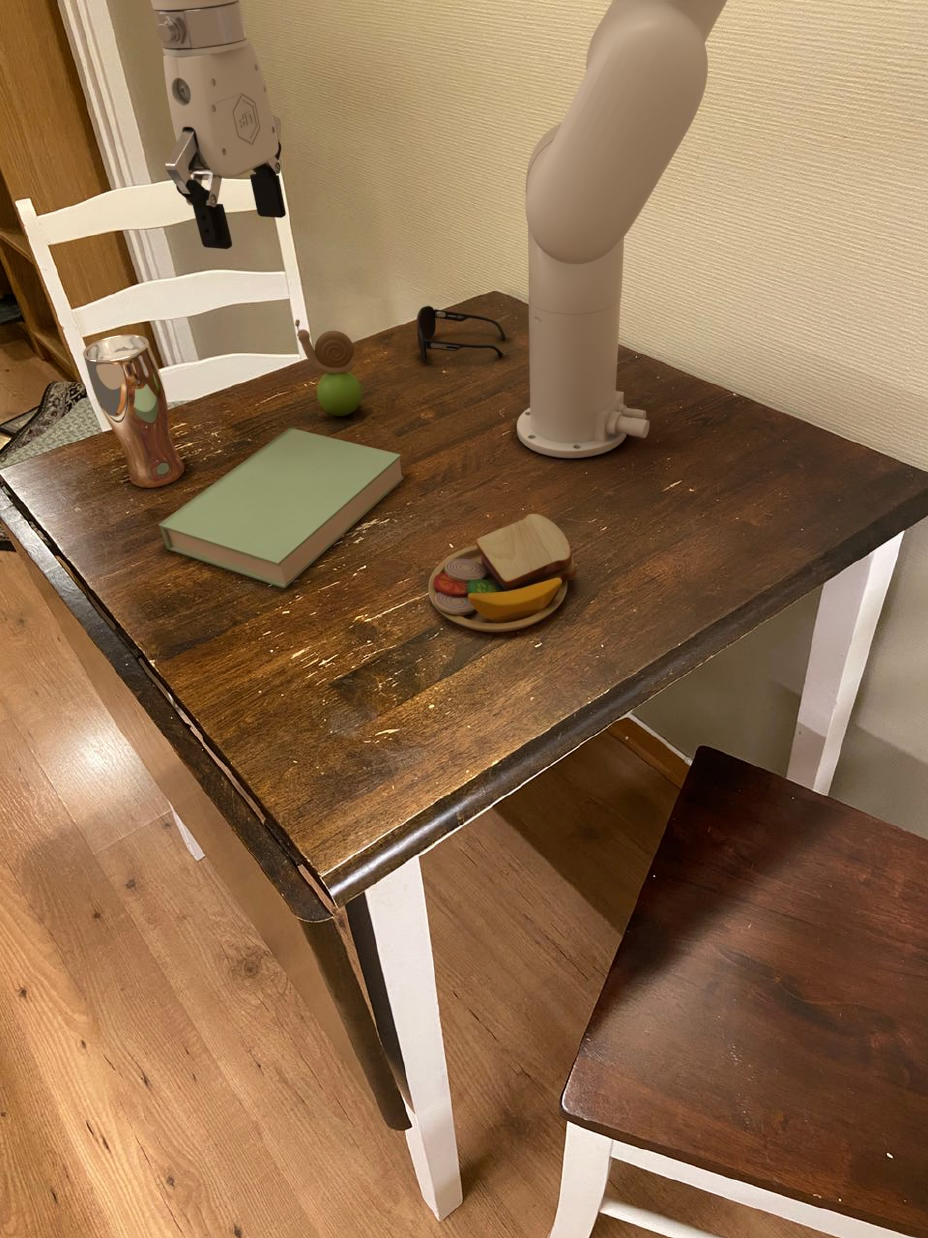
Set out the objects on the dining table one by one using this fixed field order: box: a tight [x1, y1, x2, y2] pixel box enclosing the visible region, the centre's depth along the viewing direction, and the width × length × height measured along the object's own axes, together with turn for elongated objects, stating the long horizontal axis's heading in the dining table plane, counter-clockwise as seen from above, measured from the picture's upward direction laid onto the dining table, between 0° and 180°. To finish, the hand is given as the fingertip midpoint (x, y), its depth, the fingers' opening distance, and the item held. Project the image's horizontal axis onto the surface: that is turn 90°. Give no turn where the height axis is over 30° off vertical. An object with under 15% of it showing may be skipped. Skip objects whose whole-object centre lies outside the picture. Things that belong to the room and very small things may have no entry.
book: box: [158, 427, 405, 589], centre depth 91 cm, size 15×21×3 cm
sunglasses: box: [415, 305, 506, 361], centre depth 119 cm, size 10×12×5 cm
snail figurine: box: [294, 319, 363, 417], centre depth 104 cm, size 5×6×12 cm
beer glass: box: [82, 333, 185, 489], centre depth 95 cm, size 7×7×15 cm
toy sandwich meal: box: [427, 513, 577, 633], centre depth 78 cm, size 12×14×5 cm
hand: (246, 231), depth 89 cm, fingers open, 9 cm apart
